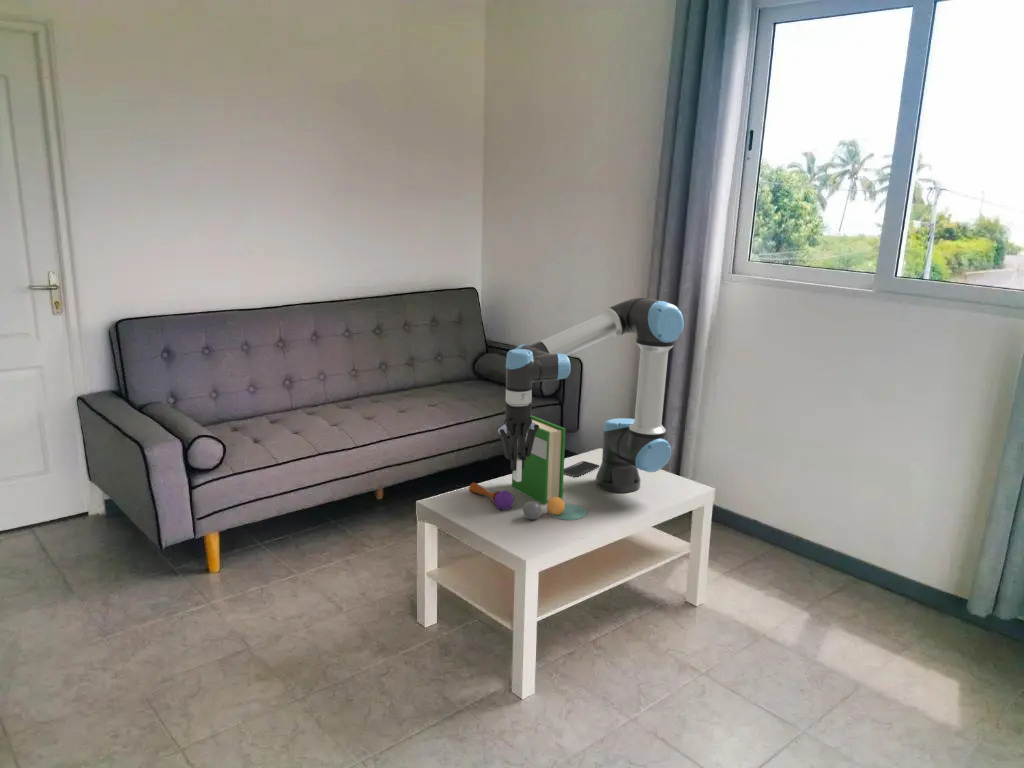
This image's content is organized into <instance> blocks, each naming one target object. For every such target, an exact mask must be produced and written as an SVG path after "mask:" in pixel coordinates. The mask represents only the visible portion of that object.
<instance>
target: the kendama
mask: <svg viewBox="0 0 1024 768" xmlns="http://www.w3.org/2000/svg"><path fill="white" fill-rule="evenodd" d="M468 488H469V489H468V491H469V492H470V493H473V494H476V495H477V494H478V495H483V496H485V497H490V498H491V500H492V502H493V504H494V505H495V506H496V507H497V508H498V509H499V510H501V511H507V510H509V509H511V508H512V507H513V505H514V502H515V501H514V500H515V497H514V496H513V494H512V493H511V492H510V491H509V490H500V491H494V492H491V491H489V490H488V489H486V488H485V487H483V486H481V485H479V484H477V483H476V482H472V483H470V485H469V487H468Z"/></svg>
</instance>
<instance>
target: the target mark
mask: <svg viewBox="0 0 1024 768" xmlns="http://www.w3.org/2000/svg"><path fill="white" fill-rule="evenodd" d="M547 513H548V514H549V515H550V516H551V517H553V518H555V519H557V520H562V521H563V520H564V521H575V520H576V519H577V520H580V518H581V519H583V518H585V517H586V516H587V513H588V511H587V510H586V509H585V508H584V507H582V506H580V505H576V504H572V503H565V509H564V511H563V512H562V513H561V514H559V515H553V514H551V513H550V512H549V511H548V510H547ZM584 516H585V517H584ZM582 517H583V518H582Z"/></svg>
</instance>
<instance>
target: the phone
mask: <svg viewBox="0 0 1024 768" xmlns="http://www.w3.org/2000/svg"><path fill="white" fill-rule="evenodd" d="M600 466H601V465H599V464H596V463H593V462H589V461H584V460H582V461H579V462H577V463H574V464H571V465H570V466H568V467H564V475H565V474H566V475H565V476H568V475H569V476H568V477H572V476H573V477H572V478H575V477H578V478H580V477H582V476H581V475H583V476H584V474H585V475H587V474H589V473H592V472H594V471H596V470H598V469H597V468H599V467H600ZM595 469H596V470H595ZM593 470H594V471H593ZM591 471H592V472H591ZM588 472H589V473H588ZM586 473H587V474H586ZM579 476H580V477H579Z"/></svg>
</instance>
